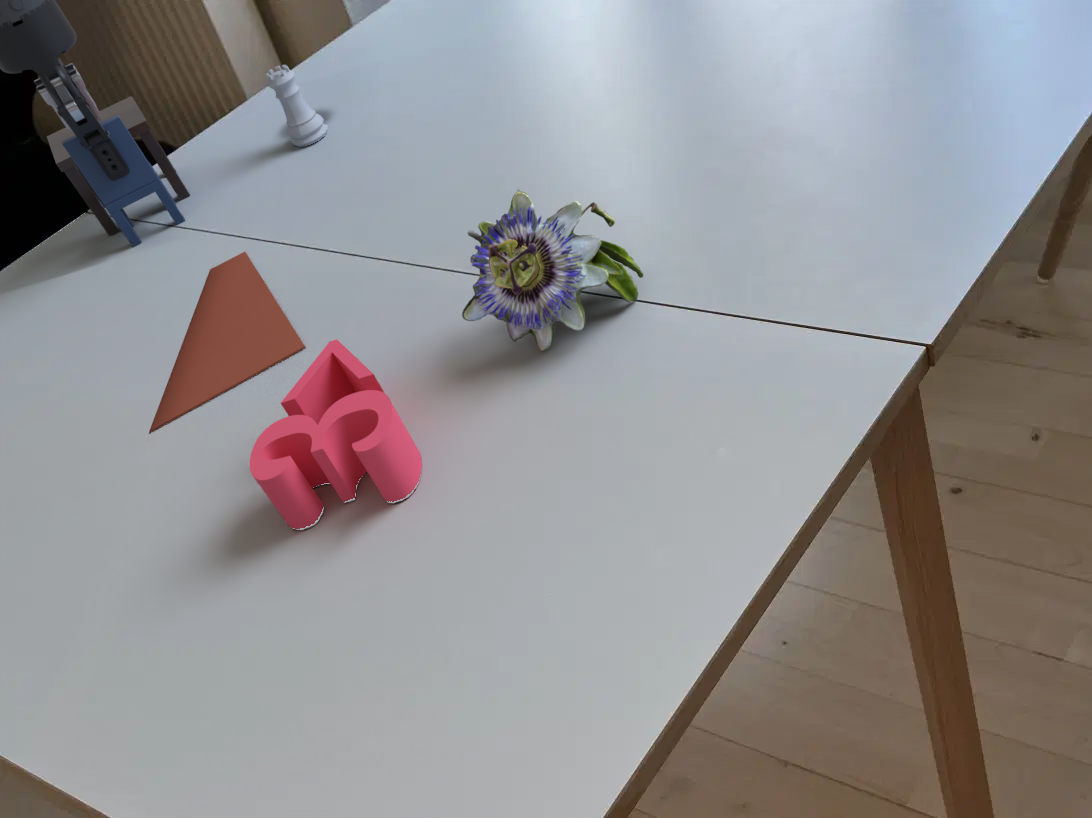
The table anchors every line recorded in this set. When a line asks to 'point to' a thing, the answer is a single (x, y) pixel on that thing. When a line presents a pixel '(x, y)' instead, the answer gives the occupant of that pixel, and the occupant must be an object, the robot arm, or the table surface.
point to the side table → (136, 127)
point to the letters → (334, 440)
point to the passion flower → (543, 270)
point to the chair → (127, 187)
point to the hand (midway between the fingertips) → (119, 173)
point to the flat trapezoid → (227, 339)
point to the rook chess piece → (296, 108)
